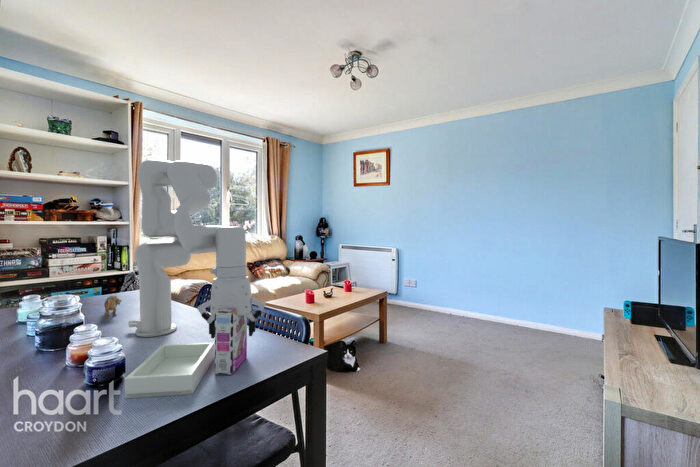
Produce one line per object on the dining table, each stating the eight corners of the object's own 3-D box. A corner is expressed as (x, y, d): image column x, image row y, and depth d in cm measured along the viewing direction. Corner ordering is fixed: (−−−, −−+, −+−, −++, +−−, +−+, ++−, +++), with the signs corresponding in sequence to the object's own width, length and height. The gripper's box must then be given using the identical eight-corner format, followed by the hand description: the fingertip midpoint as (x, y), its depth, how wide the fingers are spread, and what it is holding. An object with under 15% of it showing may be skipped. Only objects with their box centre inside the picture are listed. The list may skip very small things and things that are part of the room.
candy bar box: (233, 375, 85) (232, 312, 84) (214, 375, 85) (213, 311, 85) (248, 357, 96) (247, 301, 96) (231, 357, 96) (230, 300, 96)
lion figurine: (122, 317, 134) (122, 295, 134) (106, 320, 131) (105, 297, 130) (115, 310, 145) (114, 289, 144) (100, 312, 141) (99, 291, 141)
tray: (125, 398, 74) (124, 378, 74) (162, 360, 94) (162, 344, 94) (192, 394, 76) (191, 374, 76) (214, 357, 96) (214, 342, 96)
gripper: (192, 275, 85) (194, 342, 85) (263, 273, 87) (264, 338, 88) (201, 271, 92) (203, 332, 93) (266, 269, 95) (267, 329, 95)
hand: (232, 335), depth 90 cm, fingers open, 9 cm apart
